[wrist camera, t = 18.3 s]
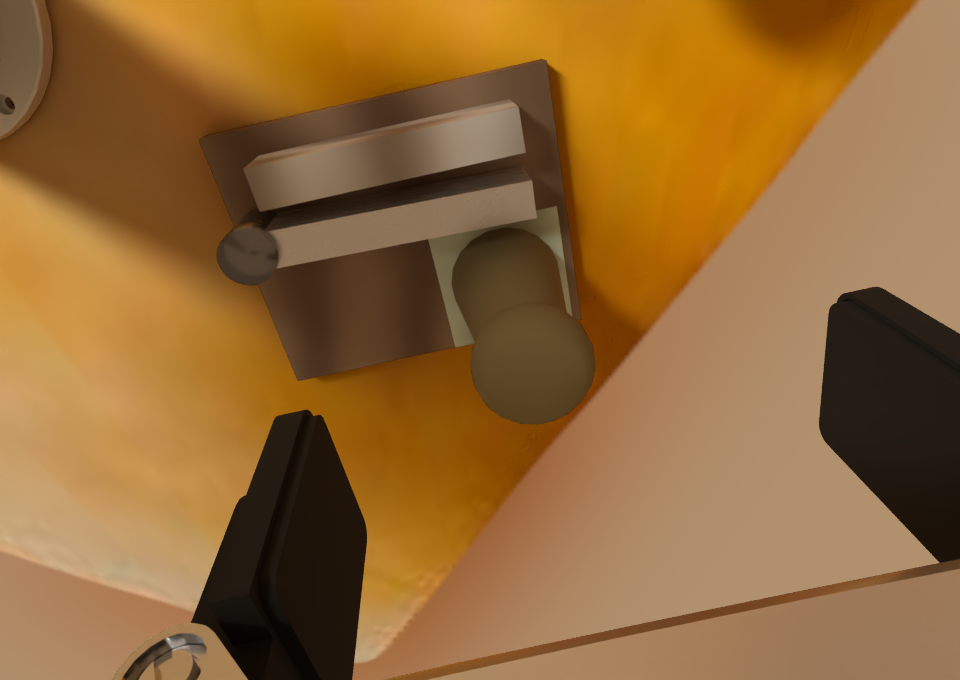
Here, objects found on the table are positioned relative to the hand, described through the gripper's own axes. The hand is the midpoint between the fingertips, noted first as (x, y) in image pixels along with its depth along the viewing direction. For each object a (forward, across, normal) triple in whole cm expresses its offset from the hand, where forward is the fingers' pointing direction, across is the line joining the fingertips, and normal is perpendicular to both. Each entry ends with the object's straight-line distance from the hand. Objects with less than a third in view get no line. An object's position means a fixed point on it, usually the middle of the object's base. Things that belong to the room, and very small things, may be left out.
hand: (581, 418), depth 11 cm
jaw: (+22, +5, +1) cm, 22 cm away
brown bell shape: (+22, 0, +6) cm, 23 cm away
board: (+23, +4, +3) cm, 24 cm away
